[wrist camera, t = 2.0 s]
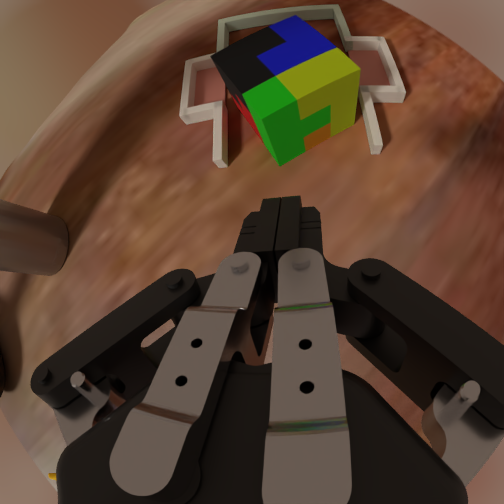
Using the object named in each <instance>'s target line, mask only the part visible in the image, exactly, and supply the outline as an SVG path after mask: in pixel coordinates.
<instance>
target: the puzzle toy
mask: <svg viewBox="0 0 504 504" xmlns="http://www.w3.org/2000/svg"><path fill="white" fill-rule="evenodd" d="M210 57H211V59H212V61H213V62H214V64H215V66H216V68H217V70H218V72H219V73H220V75H221V77H222V79H223V81H224V83H225V85H226V86H227V88H228V90H229V92H230V94H231V96H232V98H233V100H234V102H235V104H236V106H237V107H238V109H239V110H240V111H241V113H242V114H243V115H244V117H245V118H246V120H247V121H248V122H249V124H250V125H251V126H252V128H253V129H254V131H255V132H256V133H257V135H258V136H259V137H260V139H261V140H262V142H263V143H264V144H265V146H266V147H267V149H268V150H269V152H270V153H271V154H272V156H273V157H274V159H275V160H276V162H277V163H278V165H279V166H282V165H283V164H285V163H287V162H288V161H290V160H292V159H293V158H295V157H297V156H299V155H300V154H302V153H304V152H306V151H307V150H309V149H311V148H312V147H314V146H316V145H318V144H320V143H321V142H323V141H325V140H327V139H328V138H330V137H332V136H334V135H336V134H337V133H339V132H341V131H343V130H345V129H346V128H348V127H350V126H352V125H354V121H355V113H356V106H357V98H358V90H359V81H360V71H361V69H360V68H359V67H358V66H357V65H356V64H355V63H354V62H353V61H352V60H351V59H350V58H348V57H347V56H346V55H345V54H344V53H343V52H342V51H341V50H339V49H338V48H337V47H336V46H335V45H334V44H332V43H331V42H330V41H329V40H328V39H326V38H325V37H324V36H323V35H322V34H320V33H319V32H318V31H316V30H315V29H314V28H313V27H311V26H310V25H309V24H307V23H306V22H305V21H303V20H302V19H301V18H299V17H298V16H297V15H294V16H292V17H289V18H287V19H284V20H282V21H279V22H277V23H275V24H273V25H270V26H268V27H266V28H264V29H261V30H259V31H257V32H255V33H253V34H251V35H249V36H247V37H245V38H243V39H241V40H239V41H237V42H235V43H233V44H231V45H229V46H227V47H226V48H224V49H222V50H220V51H218V52H217V53H215V54H213V55H211V56H210Z"/></svg>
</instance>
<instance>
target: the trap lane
mask: <svg viewBox="0 0 504 504" xmlns="http://www.w3.org/2000/svg"><path fill="white" fill-rule="evenodd" d="M294 15H297V16H298V17H299V18H301V19H302V20H303V21H306V20H320V19H334V20H335V23H336V26H337V29H338V31H339V34H340V37H341V40H342V43H343V46H344V49H345V52H348V55H349V58H350V59H351V60H352V61H353V62H354V63H355V64H356V65H357V66H358V67H359V68H360V69H361V71H360V81H359V94H358V98H359V101H360V105H361V110H362V114H363V118H364V122H365V127H366V131H367V136H368V141H369V146H370V151H371V154H380V152H381V149H382V147H383V143H382V138H381V134H380V129H379V125H378V121H377V117H376V113H375V109H374V106H373V102H393V103H403V100H404V97H405V94H406V91H405V88H404V85H403V82H402V80H401V77H400V74H399V72H398V69H397V67H396V64H395V62H394V59H393V57H392V54H391V52H390V50H389V47H388V45H387V43H386V41H385V39H384V37H371V36H351V34H350V32H349V29H348V26H347V24H346V21H345V19H344V16H343V14H342V12H341V9H340V7H339V5H338V4H333V5H312V6H299V7H289V8H281V9H273V10H266V11H260V12H254V13H248V14H243V15H238V16H233V17H228V18H224V19H220V20H218V35H217V52H218V51H220V50H222V49H224V48H226V47H227V46H229V32H231V31H236V30H241V29H246V28H251V27H257V26H264V25H270V24H275V23H277V22H279V21H282V20H284V19H287V18H289V17H292V16H294ZM217 52H216V53H217ZM213 54H215V53H213ZM213 54H209V55H205V56H201V57H197V58H193V59H189V60H186V62H185V69H184V77H183V86H182V94H181V104H180V114H179V116H180V118H181V119H182V120H183V121H184V122H185V123H186V124H191V123H196V122H201V121H206V120H211V119H214V126H213V161H214V163H215V164H216V165H217V166H218V167H219V168H224V167H228V109H227V108H226V85H225V83H224V81H223V79H222V77H221V75H220V73H219V72H218V70H217V68H216V66H215V64H214V62H213V61H212V59H211V57H210V56H211V55H213Z"/></svg>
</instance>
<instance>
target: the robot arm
mask: <svg viewBox="0 0 504 504" xmlns="http://www.w3.org/2000/svg"><path fill="white" fill-rule="evenodd" d="M67 250H68V231H67V227H66V225H65V223H64V221H63V220H62V219H61V218H59V217H56V216H53V215H50V214H46V213H43V212H40V211H37V210H33V209H30V208H27V207H23V206H20V205H17V204H14V203H10V202H7V201H4V200H1V199H0V271H8V272H17V273H27V274H36V275H47V276H50V275H54V274H56V273H57V272H58V271H59V270H60V268H61V267H62V265H63V263H64V261H65V258H66V255H67ZM274 303H278V307H277V308H275V309H274ZM273 309H274V317H273ZM170 319H172V321H173V323H174V324H175V327H174V328H173V329H171V330H170V331H169V332H167V333H166V334H164V335H163V336H162V337H160V338H159V339H158V340H156V341H155V342H154V343H152V344H151V345H150V346H148V347H144V348H143V347H141V342H142V341H143V339H144V338H145V337H147V336H148V335H149V334H151V333H152V332H153V331H155V330H156V329H157V328H159V327H160V326H161V325H163V324H164V323H166V322H167V321H168V320H170ZM273 321H274V326H273ZM272 326H273V353H272V363H268V364H264V360H265V356H266V352H267V348H268V343H269V339H270V335H271V330H272ZM337 333H339V334H343V335H346V339H347V340H348V342H349V343H350V344H351V345H352V346H353V347H354V348H356V349H357V350H358V351H359V352H360V353H361V354H362V355H363V356H364V357H365V358H366V359H368V360H369V361H370V362H371V363H372V364H373V365H374V366H375V367H376V368H377V369H378V370H379V371H381V372H382V373H383V374H384V375H385V376H386V377H387V378H388V379H389V380H390V381H391V382H393V383H394V384H395V385H396V386H397V387H398V388H399V389H400V390H401V391H402V392H403V393H404V394H406V395H407V396H408V397H409V398H410V399H411V400H412V401H413V402H414V403H415V404H416V405H418V406H419V407H420V408H421V409H422V410H423V411H424V413H423V416H422V422H421V424H422V430H423V432H424V434H425V436H426V437H427V438H428V440H429V441H430V443H431V446H432V448H431V447H430V446H429V445H428V444H427V443H426V442H425V441H424V440H423V439H422V438H421V437H420V436H419V435H418V434H417V433H416V432H415V431H414V430H413V429H412V428H411V427H410V426H409V424H408V423H407V422H406V421H405V420H404V419H403V418H402V417H401V416H400V415H399V414H398V413H397V412H396V411H395V410H394V409H393V408H392V407H391V406H390V405H389V404H388V403H387V402H386V401H385V399H384V398H383V397H382V396H381V395H380V394H379V393H378V392H377V391H376V390H375V389H374V388H373V387H372V386H371V385H370V384H369V383H367V382H366V381H365V380H364V379H362V378H360V377H359V376H357V375H355V374H353V373H351V372H348V371H346V370H342V369H341V361H340V353H339V345H338V338H337ZM31 389H32V391H33V392H34V393H35V394H36V395H37V396H39V397H40V398H41V399H42V400H44V401H45V402H46V403H47V404H48V405H49V406H50V407H51V408H52V409H53V410H54V413H55V416H56V419H57V421H58V424H59V427H60V430H61V432H62V435H63V437H64V440H65V442H66V445H67V447H66V448H65V450H64V451H63V453H62V454H61V456H60V458H59V461H58V464H57V469H56V481H57V489H58V504H468V496H467V491H466V488H465V487H466V486H467V485H468V484H469V482H470V481H471V480H472V479H473V478H474V477H475V475H476V474H477V473H478V472H479V470H480V469H481V468H482V467H483V465H484V464H485V463H486V461H487V460H488V459H489V457H490V456H491V455H492V453H493V452H494V451H495V449H496V448H497V446H498V445H499V443H500V442H501V440H502V439H503V437H504V345H502V344H501V343H500V342H499V341H497V340H496V339H495V338H493V337H492V336H491V335H489V334H488V333H487V332H485V331H484V330H483V329H481V328H480V327H479V326H477V325H476V324H475V323H473V322H472V321H471V320H469V319H468V318H467V317H465V316H464V315H462V314H461V313H460V312H458V311H457V310H455V309H454V308H453V307H451V306H450V305H448V304H447V303H445V302H444V301H443V300H441V299H440V298H438V297H437V296H435V295H434V294H432V293H431V292H430V291H428V290H427V289H425V288H424V287H422V286H421V285H419V284H418V283H416V282H415V281H413V280H412V279H410V278H409V277H407V276H406V275H404V274H403V273H401V272H400V271H398V270H397V269H395V268H393V267H392V266H390V265H389V264H387V263H386V262H384V261H381V260H378V259H373V258H368V259H362V260H359V261H356V262H355V263H353V264H352V265H351V266H350V268H349V269H347V268H342V267H338V266H335V265H333V264H331V263H329V262H328V261H327V260H326V259H325V257H324V255H323V246H322V232H321V219H320V212H319V211H318V210H317V209H316V208H315V207H302V203H301V197H300V196H290V197H282V198H281V197H279V198H269V199H263V201H262V205H261V209H260V211H258V212H251V213H250V214H249V215H248V216H247V217H246V218H245V219H244V222H243V225H242V229H241V231H240V235H239V237H238V240H237V244H236V247H235V250H234V253H233V254H232V255H230V256H228V257H226V258H225V259H224V260H223V261H222V262H221V263H220V265H219V267H218V269H217V271H216V273H215V274H212V275H208V276H205V277H201V278H197V279H196V277H195V275H194V273H193V272H192V271H190V270H188V269H177V270H173V271H171V272H169V273H167V274H165V275H164V276H162V277H161V278H159V279H158V280H157V281H155V282H154V283H152V284H151V285H149V286H148V287H146V288H145V289H144V290H142V291H141V292H139V293H138V294H136V295H135V296H133V297H132V298H131V299H129V300H128V301H126V302H125V303H124V304H122V305H121V306H119V307H118V308H116V309H115V310H114V311H112V312H111V313H109V314H108V315H107V316H105V317H104V318H102V319H101V320H100V321H98V322H97V323H95V324H94V325H93V326H91V327H90V328H89V329H87V330H86V331H84V332H83V333H82V334H80V335H79V336H78V337H76V338H75V339H73V340H72V341H71V342H69V343H68V344H67V345H65V346H64V347H63V348H61V349H60V350H58V351H57V352H56V353H54V354H53V355H52V356H50V357H49V358H48V359H46V360H45V361H44V362H42V363H41V364H40V365H39V366H38V367H37V368H36V369H35V371H34V373H33V375H32V378H31Z"/></svg>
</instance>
